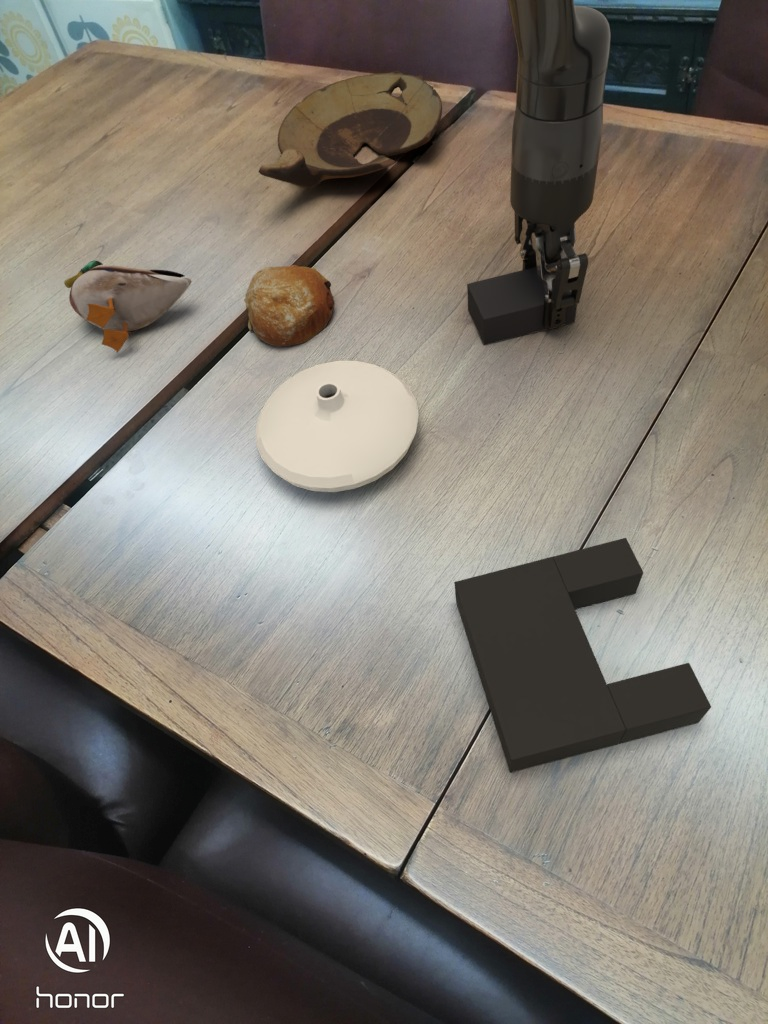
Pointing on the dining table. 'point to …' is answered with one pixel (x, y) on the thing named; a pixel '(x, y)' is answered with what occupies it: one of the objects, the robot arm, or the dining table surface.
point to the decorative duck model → (123, 297)
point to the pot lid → (337, 426)
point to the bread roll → (288, 304)
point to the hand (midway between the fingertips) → (542, 305)
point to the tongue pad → (510, 305)
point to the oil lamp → (354, 127)
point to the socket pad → (564, 659)
